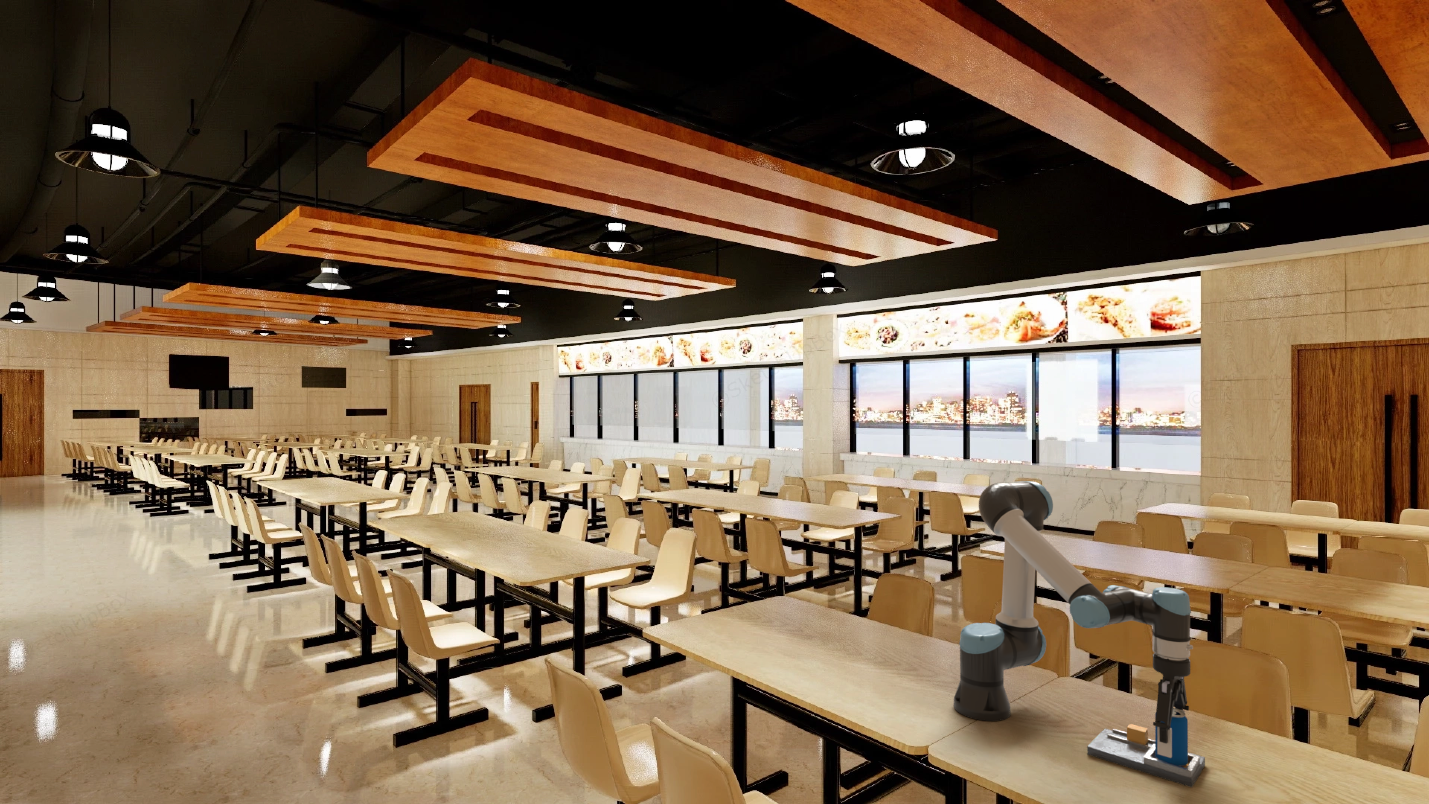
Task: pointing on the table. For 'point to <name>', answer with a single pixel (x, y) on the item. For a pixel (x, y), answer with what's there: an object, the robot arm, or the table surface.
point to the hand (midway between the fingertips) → (1171, 745)
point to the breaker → (1137, 734)
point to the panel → (1143, 757)
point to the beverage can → (1176, 739)
